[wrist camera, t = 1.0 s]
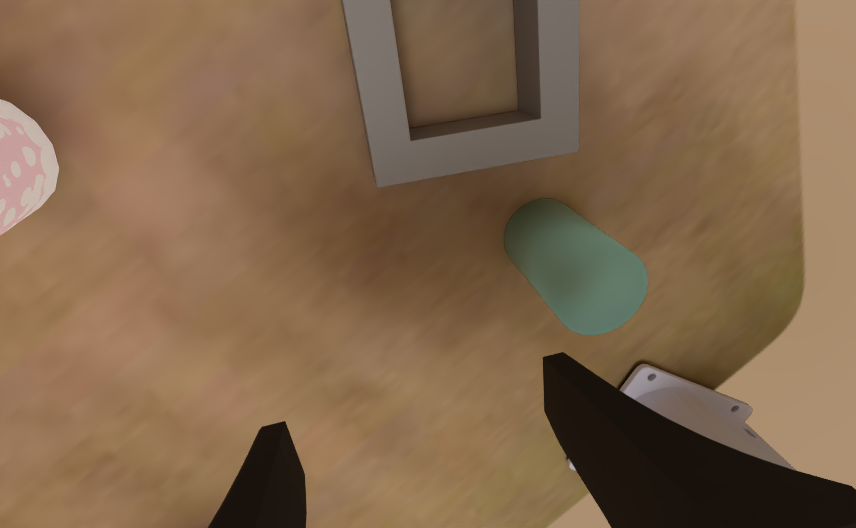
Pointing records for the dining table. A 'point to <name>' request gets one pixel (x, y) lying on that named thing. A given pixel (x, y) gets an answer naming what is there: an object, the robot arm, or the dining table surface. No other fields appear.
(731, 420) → the robot arm
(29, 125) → the beverage cup
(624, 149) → the dining table surface
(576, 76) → the socket
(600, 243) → the peg
